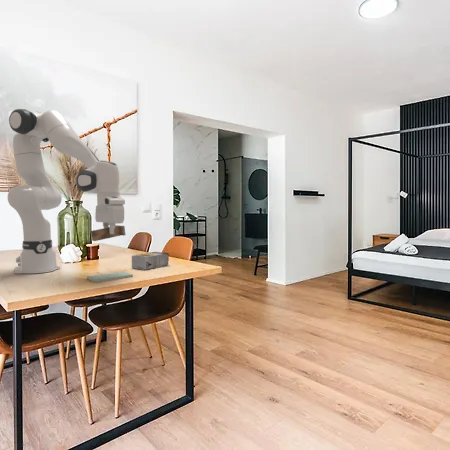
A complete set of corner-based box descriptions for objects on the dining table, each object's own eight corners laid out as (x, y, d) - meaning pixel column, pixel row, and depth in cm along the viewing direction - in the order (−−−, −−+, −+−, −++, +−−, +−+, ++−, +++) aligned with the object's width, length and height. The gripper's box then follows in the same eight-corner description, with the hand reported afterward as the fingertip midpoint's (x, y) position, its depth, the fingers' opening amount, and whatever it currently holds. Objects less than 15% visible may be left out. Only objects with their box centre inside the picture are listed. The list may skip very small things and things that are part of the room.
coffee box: (131, 255, 170) (155, 251, 184) (131, 268, 171) (155, 263, 184) (145, 256, 165) (168, 252, 179) (145, 270, 166) (168, 265, 179)
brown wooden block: (97, 241, 141) (95, 231, 141) (90, 240, 145) (88, 230, 145) (125, 235, 150) (124, 225, 150) (118, 234, 154) (116, 225, 154)
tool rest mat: (86, 278, 147) (86, 276, 147) (123, 273, 158) (123, 271, 158) (95, 282, 141) (95, 279, 140) (132, 276, 151) (132, 274, 151)
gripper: (91, 200, 153) (91, 232, 154) (111, 200, 138) (112, 235, 138) (105, 200, 157) (106, 232, 158) (126, 200, 142) (127, 234, 143)
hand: (109, 233), depth 148 cm, fingers closed on brown wooden block, 2 cm apart
